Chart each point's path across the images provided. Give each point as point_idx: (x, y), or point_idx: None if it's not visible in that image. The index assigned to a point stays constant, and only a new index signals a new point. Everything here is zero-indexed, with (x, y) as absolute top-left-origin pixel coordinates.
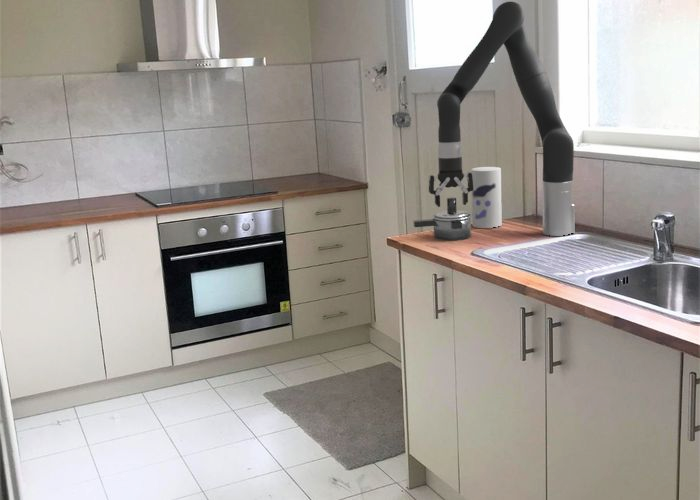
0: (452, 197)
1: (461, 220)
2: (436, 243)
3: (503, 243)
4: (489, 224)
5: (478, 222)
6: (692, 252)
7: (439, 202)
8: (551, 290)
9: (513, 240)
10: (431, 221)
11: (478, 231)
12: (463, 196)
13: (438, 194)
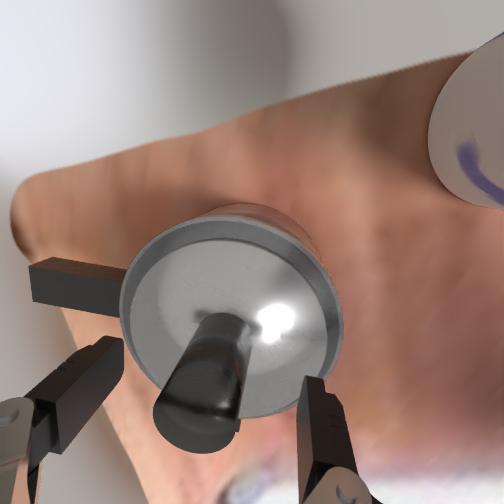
0: (213, 393)
1: None
2: None
3: (365, 453)
4: (493, 208)
5: (450, 172)
6: None
7: (98, 400)
8: None
9: (422, 438)
10: (118, 314)
11: (393, 237)
12: (301, 465)
13: (36, 467)
